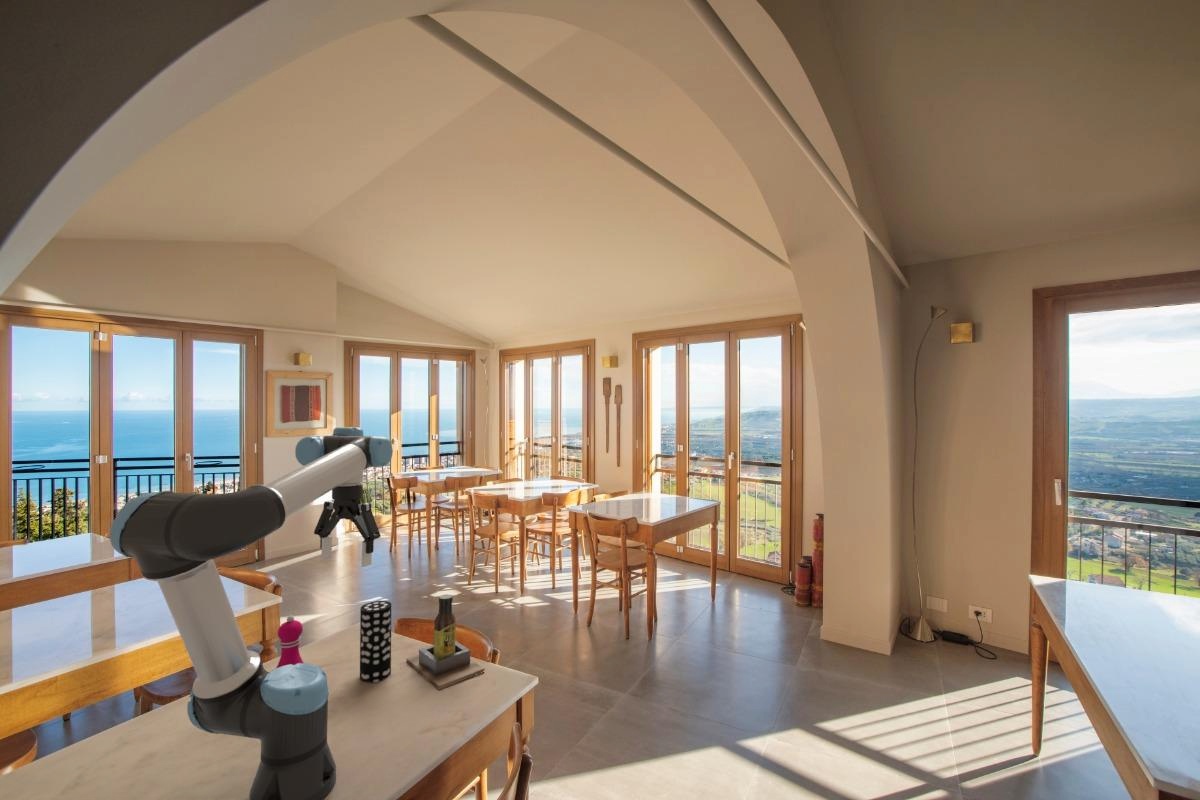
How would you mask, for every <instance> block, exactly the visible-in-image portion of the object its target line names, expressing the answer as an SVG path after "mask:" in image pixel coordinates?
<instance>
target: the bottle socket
mask: <svg viewBox="0 0 1200 800" xmlns="http://www.w3.org/2000/svg"><path fill="white" fill-rule="evenodd" d="M418 654H419V663H420V664H421V665H422V666H423V667H424V668H426V669H427V670H428V671H429V672H431V673H432V674H433V675H434V676H435V677H436V676H438V675H441V674H444V673H447V672H449V671H452V670H455V669H457V668H460V667H463V666H466V665H468V664H470V659H471V650H470V649H469V648H468V647H466V646H464V645H463V644H461V643H460V642H458V641H457V640H455V653H454V654H451V655H448V656H445V657H442V658H439V659H438V658H436V657H435V656H434V655H433V654H434V644H432V645H429V646H425V647H423V648H420V649H418Z"/></svg>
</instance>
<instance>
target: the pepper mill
mask: <svg viewBox="0 0 1200 800" xmlns="http://www.w3.org/2000/svg"><path fill="white" fill-rule="evenodd" d="M303 629H304V627H303V624H302V622H300V620H299V621H298V620H296V619H295V617H294V615H288V617H287V618H286V621H285V622H283V623H282V624H280V625H279V627H278V631H277V637H278V638H279V640H280V641H279V647H280V648H281V653H280V658H279V661H278V663H277V665H276V667H275V669H276V668H278V667H281V666H284V665H289V664H292V665H296V664H297V663H304V661H303V659H302V656H301V654H300V651H299V649H300V648H299V645H300V643H301V639H302V637H301V635H302V633H303Z"/></svg>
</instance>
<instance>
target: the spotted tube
mask: <svg viewBox="0 0 1200 800" xmlns="http://www.w3.org/2000/svg"><path fill="white" fill-rule="evenodd" d="M359 612H360V615H359V616H360V618H359V619H360V623H359V626H360V627H359V631H360V632H359V634H360V636H359V638H360V639H359V680H360V681H361V682H363V683H369V684H370V683H378V682H382V681H384V680H385V679H387V678H389V677H390V676H391V674H392V673H391V672H392V602H391V601H386V600H376V601H369V602H368V603H365V604H363V605H361V606H360V610H359Z"/></svg>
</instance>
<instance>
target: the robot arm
mask: <svg viewBox="0 0 1200 800" xmlns="http://www.w3.org/2000/svg"><path fill="white" fill-rule="evenodd" d="M332 432H333V433H332V435H311V436H310V435H309V436H304V437H302V438H301V439H300V440H299V441H298V442H297V443H296V445H295V450H294V452H295V453H294V454H295V458H296V460H297V462H298V463H299V464H300V465H301V467H299V468H296V469H294V470H291V471H290V472H288V473H287V474H284V475H282V476H281V477H279V478H277V479H275V480H272V481H271V482H269V483H267V484H265V485H264V484H254V485H250V486H248V487H246V488H244V489H242V490H240V491H234V492H233V491H232V492H226V493H199V492H198V493H195V492H193V493H192V492H174V491H170V490H167V491H166V490H164V491H160V492H159V491H158V492H157V491H156V492H155V491H154V492H149V493H148V492H147V493H144V494H140V495H138V496H136V497H134V498H132V499H131V500H129V501H128V502H127V503H125V504H124V505H123V506H122V507H121V508H120V510H119V511H118V512H117V515H116V517H115V518H114V519H113V520H112V523H111V525H110V529H109V539H110V544H111V547H112V548H113V549H114V550H115V551H116V552H117V553H118V554H119V555H122V556H124V557H125V558H134V559H135V562H136V564H137V567H138V569H139V570H140V573H141V576H142V578H144V579H145V580H147V581H152V582H157V584H158V586H159V588H160V590H161V593H162V595H163V598H164V600H165V603H166V605H167V607H168V609H169V612H170V614H171V617H172V619H173V621H174V623H175V626H176V628H177V630H178V633H179V635H180V638H181V640H182V643H183V645H184V647H185V650H186V652H187V654H188V658H189V659H190V661H191V663H192V666H193V668H194V671H195V673H196V675H197V676H196V678H195V680H194V681H193V683H192V689H191V691H190V693H189V698H190V701H187V706H186V709H187V710H186V711H187V716H188V719H189V721H190V723H191V724H192V725H193V726H194V727H196V728H197V729H199V730H202V731H204V732H207V733H209V734H217V735H220V734H221V735H227V736H233V737H234V736H236V737H242V738H248V739H257V740H260V761H259V764H258V768H257V770H256V773H255V775H254V776H255V777H254V778H253V782H252V784H251V787H250V792H249V798H248V799H249V800H323V799H324V798H326V797H327V795H329V794H330V792H332V790H333V789H334V786H335V784H336V782H337V765H336V762H335V759H334V757H333V754H332V752H331V749H330V746H329V744H328V715H329V712H328V707H329V693H330V691H329V686H328V677H327V674H326V672H325V670H324V669H323V668H321V667H320V666H318V665H315V664H311V663H306V662H305V663H304V662H303V663H297V664H296V665H292V664H289V665H284V666H281V667H278V668H276V667H275V669H272V670H271V671H267V670H266V669H265V667H264V664H263V662H262V658H261V657H260V655H259V653H258V652H256V651H253V650H248V648H247V645H246V643H245V640H244V638H243V635H242V632H241V629H240V627H239V624H238V621H237V618H236V617H235V614H234V613H235V612H234V610H233V608H232V605H231V603H230V600H229V598H228V595H227V592H226V589H225V587H224V584H223V582H222V579H221V576H220V574H219V571H218V569H217V565H216V563H215V560H216V559H219V558H222V557H225V556H228V555H231V554H233V553H236V552H238V551H240V550H242V549H243V550H244V549H245V548H248V547H249V546H251V545H253V544H255V543H257V542H258V541H259V542H260V541H261V540H262V539H264V538H266V537H267V536H269V535H271V534H273V533H274V532H276V531H277V530H279V529H281V528H282V527H283V526H284V524H285V522H286V520H287V518H288V517H290V516H292V515H294V514H295V513H296V512H298V511H300V510H301V509H303V508H304V507H307V506H308V505H309V504H311V503H313V502H314V501H316V500H317V499H318V500H319V498H320V497H322V496H324V495H326V494H328V493H329V492H331V499H332V500H327V501H325V500H324V502H323V509H322V511H321V514H320V516H319V519H318V521H317V524H316V526H315V528H314V531H313V534H314V535H318V536H319V538H320V539H319V540H320V541H319V542H320V545H319V548H320V549H321V555H320V557H321V561H320V562H321V563H326V562H329V561H332V558H333V557H332V556H333V555H332V554H333V553H332V552H333V551H332V550H333V549H332V548H333V545H332V544H333V535H332V532H333V530H334V529H335V528H336V526H337V525H338V523H339V522H341V521H340V520H348V521H349V520H350V522H351V523H353V524H354V525H355V528H356V529H357V530H358V532H359V533H360V535H361V537H362V538H363V541H362V542H361V568H365V567H368V566H371V565H372V559H373V558H372V554H373V553H374V548H375V547H374V543H375V542H374V541H375V540H376V539H379V538H381V533H380V530H379V527H378V524H377V522H376V519H375V517H374V514H373V512H372V504H371V502H365V503H362V502H361V500H362V498H363V496H364V494H363V493H364V486H363V484H362V483H363V482H364V481H363V480H364V471H365V470H367V469H369V468H380V467H383V468H384V467H387V466H388V465H389V463H390V462H391V461H392V457H393V452H394V451H393V444H392V442H391V441H390V439H389V438H388V437H386V436H378V435H364V429H363V428H362V427H359V426H358V427H356V426H355V427H354V426H352V427H350V426H348V427H347V426H345V427H343V426H342V427H335V428H334V429H333V431H332Z"/></svg>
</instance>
